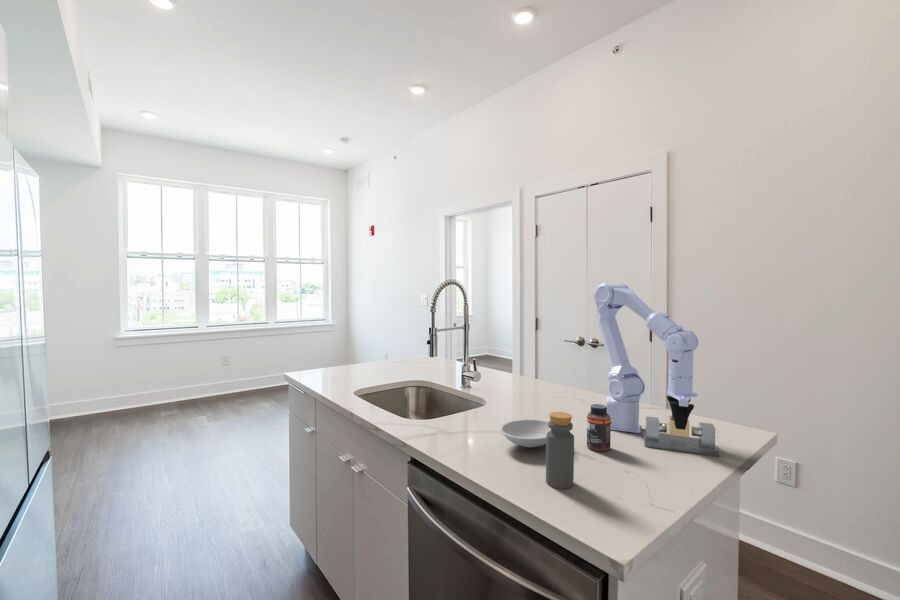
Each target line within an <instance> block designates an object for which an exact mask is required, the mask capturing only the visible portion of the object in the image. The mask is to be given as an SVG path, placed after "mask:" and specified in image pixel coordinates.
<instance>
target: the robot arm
mask: <svg viewBox="0 0 900 600" xmlns="http://www.w3.org/2000/svg"><path fill="white" fill-rule="evenodd" d="M592 297H593V300H594V303H595V317H596V321H597V324H598V328H599V330H600V331H599V332H600V334H601V337H602V341H603V345H604V347H605V351H606V355H607V358H608V360H609V365H610V368H611V370H610V371H609V373H608V374H607V380H608V384H607V385H608V386H607V388H608V392H609V394H610V396H607V397H606V405H605V406H606V407H607V414H608V415H609V416H610V419H611V421H610V422H611V428H610V431H619V432H628V433H635V434H641V432H642V431H641V424H640V399H641V395H643V394H644V392H645V390H646V385H645V382H644V380H643V379H642V378H641V375H640V374H639V371H638V370H637V369H636V368H635V367H634V366H632V365H631V363H630V359H629V357H628V353H627V350H626V346H625V343H624V341H623V337H622V334H621V331H620V328H619V324H618V321H617V319H616V315H617V314H618V312H619V311H620V310H621V309H623V307H624V306H626V307H627V308H628V309H630V310H631V311H632V312H633V313H635V314H636V315H638V316H639V317H641V318H642V319H643V320H644V321H646V327H647V328H648V330H650V332H651V333H653V334H654V335H655V336H656V337H658V338H659V339H660V340H661V341H662V342H663V345H664V347H665V349H666V350H667V353H668V355H667V356H668V383H667V390H666V394H667V396H666V398H667V400H668V403H669V406H670V410H671V416H674V422H675V426H676V429H683V430H685V428H686V425H687V421H688V420H689V417H690V415H691V413H692V411H693V409H694V408H695V405H694V404H693V403H692V404H691V403H690V402H691V399H692V398H697V397H698V395H699V394H698V393H697V392H693V387H694V385H693V384H694V383H693V380H694V379H693V377H694V351H695V350H696V349H697V347H698V345H699V340H698V339H699V338H698V337H697V335H696V334H695V333H694V332H693V331H692V330H688V329H683V328H684V327H683V326H682V325H681V324H677V323H676V322H675V321H673V320H672V319H671V318H670V315H669V314H668V313H666V312H664V313H663V312H661V311H660V312H655V310H653V309H652V308H651V307H650V306H649V305H648V304H647V303H646V302H645V301H643V299H642V298H640V297H639V296H638V295H637V294H636V293H635V291H634V290H633V288H630V287H629V286H628V285H626V284H624V283H620V284H619V283H618V284H616V283H615V284H613V283H609V284H608V283H601V284H599V285H598V286H597V287H596V290H595V291H594V293H593V296H592Z"/></svg>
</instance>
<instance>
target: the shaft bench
mask: <svg viewBox="0 0 900 600" xmlns="http://www.w3.org/2000/svg"><path fill="white" fill-rule="evenodd" d="M698 425H699V426H691V427H690V434H691V437H690V436H689V437H683V436H675V435H670V434H668V424H667V423H666V422H665V423H664V422H660V420H659V417H656V416H654V417H653V416H645V431H642V439H643V445H644V447H646V448H654V449H660V450H667V451H674V452H682V453H690V454H697V455H703V456H711V457H720V455H719V454H720V450H719V448H718V447H717V445H716V426H714V424H713V423H710V422H701V421H700V422H699V423H698Z"/></svg>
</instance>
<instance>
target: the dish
mask: <svg viewBox="0 0 900 600" xmlns="http://www.w3.org/2000/svg"><path fill="white" fill-rule="evenodd" d="M549 421H550V420H544V419H535V418H525V419H524V418H522V419H521V418H520V419H515V420H510V421H507V422H505V423H503V424H501V425H500V426H499V430H498V431H499V432H500V434H501V435H503V436H504V437H505V438H506V439H507V440H508V441H509V442H511V443H512V444H514V445H517V446H520V447H523V448H530V449H532V448H536V447H541V446H544V445H546V436H547V433H548V432H549V431H551V428H549V426H548V422H549Z"/></svg>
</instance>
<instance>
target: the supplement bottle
mask: <svg viewBox="0 0 900 600" xmlns="http://www.w3.org/2000/svg"><path fill="white" fill-rule="evenodd" d="M606 406H607V405H604V404H601V403H600V404H599V403H594V404H593V403H592V404H591V405H590V411H589V412H588V413H587V415H586V447H587V448H588V449H589V450H591V451H594V452H599V453H600V452H602V453H603V452H608V451H610V449H611V430H610V428H611V422H610V421H611V419H610V416H609V415H608V414H607V407H606Z"/></svg>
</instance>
